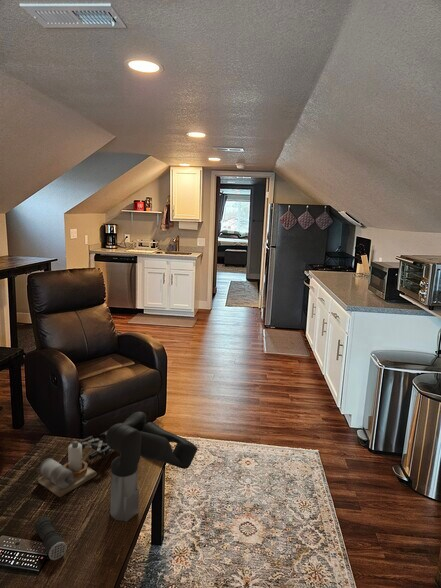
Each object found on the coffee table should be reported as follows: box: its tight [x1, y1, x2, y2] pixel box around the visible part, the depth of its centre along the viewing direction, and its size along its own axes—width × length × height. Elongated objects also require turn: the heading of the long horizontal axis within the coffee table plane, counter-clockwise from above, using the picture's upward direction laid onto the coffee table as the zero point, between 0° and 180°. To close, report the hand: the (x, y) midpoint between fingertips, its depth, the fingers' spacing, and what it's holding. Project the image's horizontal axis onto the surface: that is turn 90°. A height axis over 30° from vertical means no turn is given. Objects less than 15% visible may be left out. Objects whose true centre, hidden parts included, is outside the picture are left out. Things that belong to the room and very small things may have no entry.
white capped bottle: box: [67, 440, 83, 472], centre depth 166 cm, size 5×5×13 cm
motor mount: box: [37, 457, 97, 498], centre depth 163 cm, size 15×17×8 cm
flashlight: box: [33, 516, 68, 561], centre depth 132 cm, size 15×5×5 cm, turn 42°
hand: (82, 454), depth 169 cm, fingers open, 8 cm apart
